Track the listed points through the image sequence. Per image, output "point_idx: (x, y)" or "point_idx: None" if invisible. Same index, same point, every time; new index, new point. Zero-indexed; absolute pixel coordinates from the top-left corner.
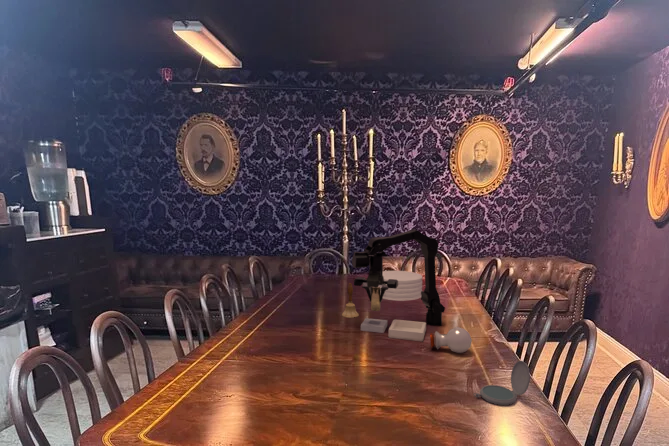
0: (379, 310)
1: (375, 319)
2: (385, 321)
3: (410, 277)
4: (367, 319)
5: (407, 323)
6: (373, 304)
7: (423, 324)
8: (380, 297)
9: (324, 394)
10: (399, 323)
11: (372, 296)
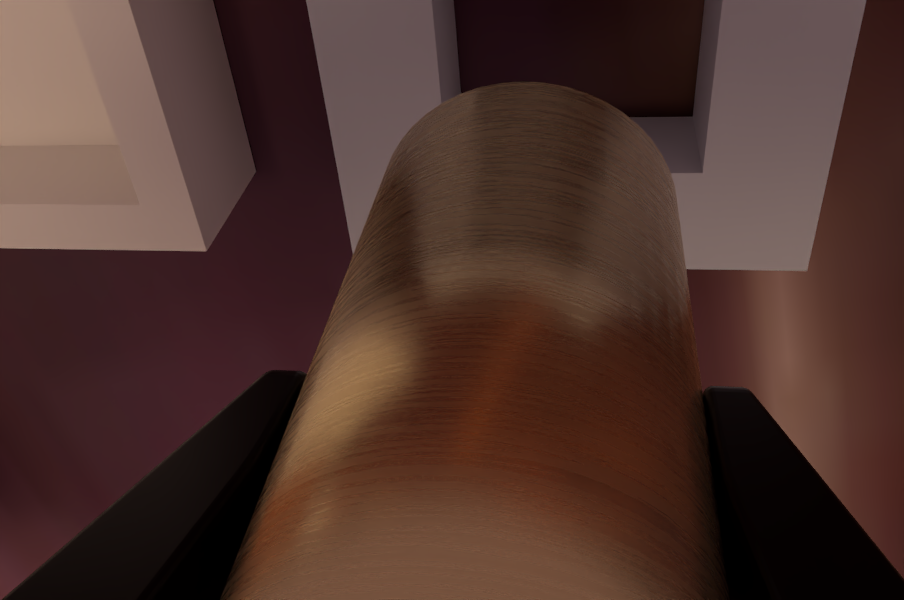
0: (384, 175)
1: None
2: (366, 187)
3: None
4: (762, 204)
5: None
6: (563, 217)
7: None
8: (185, 526)
9: None
10: (103, 177)
11: (627, 536)
